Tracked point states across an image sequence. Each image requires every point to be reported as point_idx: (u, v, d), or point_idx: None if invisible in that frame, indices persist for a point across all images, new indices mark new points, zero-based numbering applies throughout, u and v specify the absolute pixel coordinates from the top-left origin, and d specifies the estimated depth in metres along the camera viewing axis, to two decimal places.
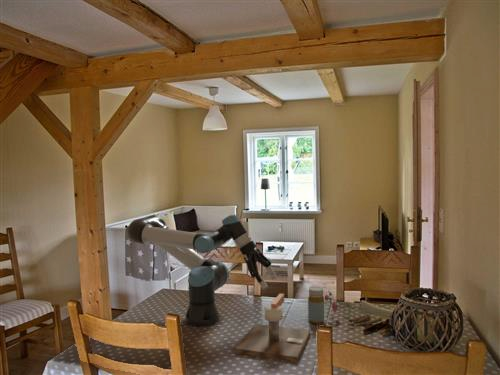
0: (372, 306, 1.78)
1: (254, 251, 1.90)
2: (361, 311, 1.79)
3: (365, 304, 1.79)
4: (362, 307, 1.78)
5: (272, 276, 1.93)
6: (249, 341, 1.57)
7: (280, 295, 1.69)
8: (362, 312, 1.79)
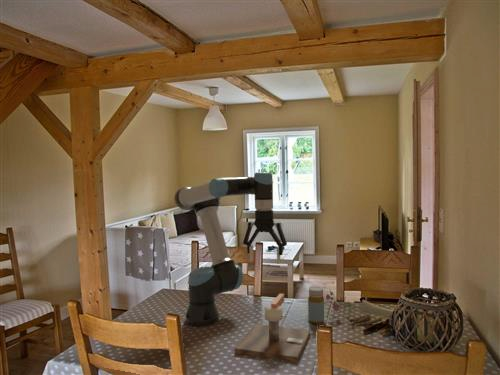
0: (373, 306, 1.79)
1: (267, 221, 1.65)
2: (362, 311, 1.79)
3: (366, 304, 1.79)
4: (363, 307, 1.78)
5: None
6: (249, 341, 1.57)
7: (280, 295, 1.69)
8: (363, 312, 1.80)
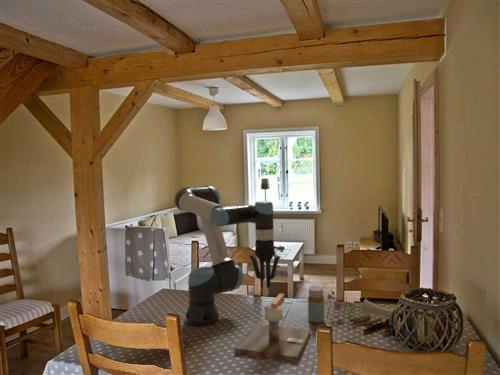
0: (374, 306, 1.79)
1: (269, 249, 1.66)
2: (363, 310, 1.79)
3: (367, 304, 1.79)
4: (364, 306, 1.78)
5: None
6: (249, 341, 1.57)
7: (280, 295, 1.69)
8: (364, 312, 1.80)
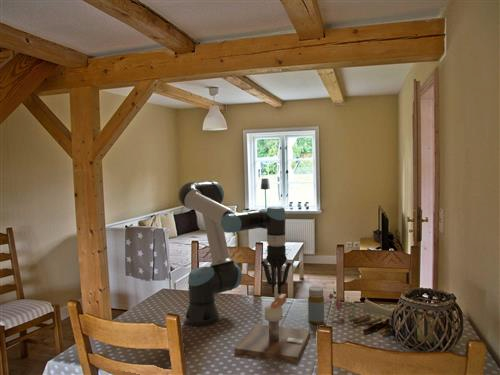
0: (376, 305, 1.79)
1: (281, 255, 1.64)
2: (365, 310, 1.80)
3: (369, 303, 1.79)
4: (365, 306, 1.79)
5: None
6: (249, 341, 1.57)
7: (282, 295, 1.68)
8: (366, 311, 1.80)
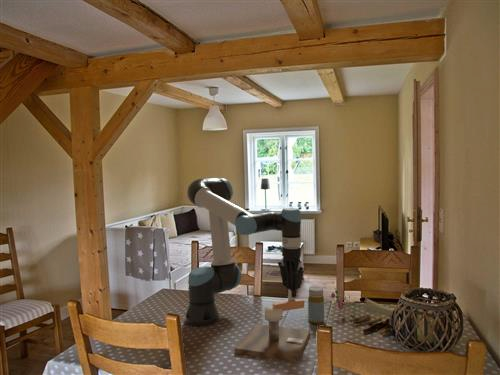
0: (377, 305, 1.79)
1: (294, 259, 1.60)
2: (366, 310, 1.80)
3: (370, 303, 1.80)
4: (367, 306, 1.79)
5: None
6: (249, 341, 1.57)
7: (298, 300, 1.62)
8: (367, 311, 1.81)
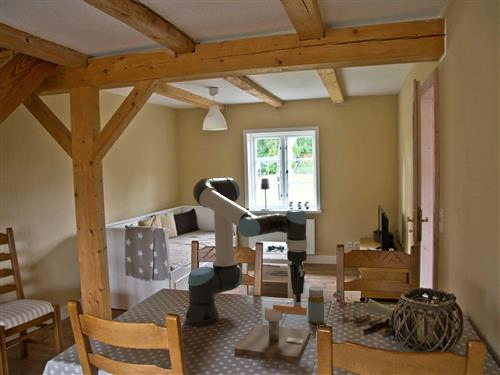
0: (379, 305, 1.79)
1: (296, 262, 1.54)
2: (368, 309, 1.80)
3: (372, 303, 1.80)
4: (368, 306, 1.79)
5: None
6: (249, 341, 1.57)
7: (301, 306, 1.55)
8: (369, 311, 1.81)
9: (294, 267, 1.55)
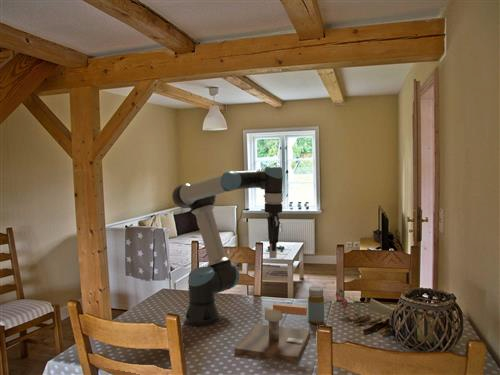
0: (381, 305, 1.80)
1: (272, 214, 1.68)
2: (370, 309, 1.81)
3: (374, 303, 1.80)
4: (370, 305, 1.80)
5: None
6: (249, 341, 1.57)
7: (301, 306, 1.55)
8: (371, 311, 1.81)
9: (270, 218, 1.69)
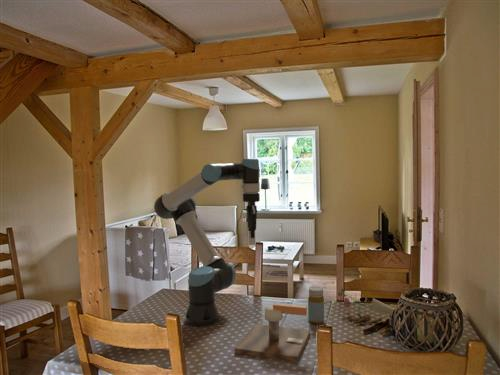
0: (383, 305, 1.80)
1: (250, 202, 1.79)
2: (371, 309, 1.81)
3: (376, 302, 1.81)
4: (372, 305, 1.80)
5: None
6: (249, 341, 1.57)
7: (301, 306, 1.55)
8: (373, 310, 1.82)
9: (248, 207, 1.80)
